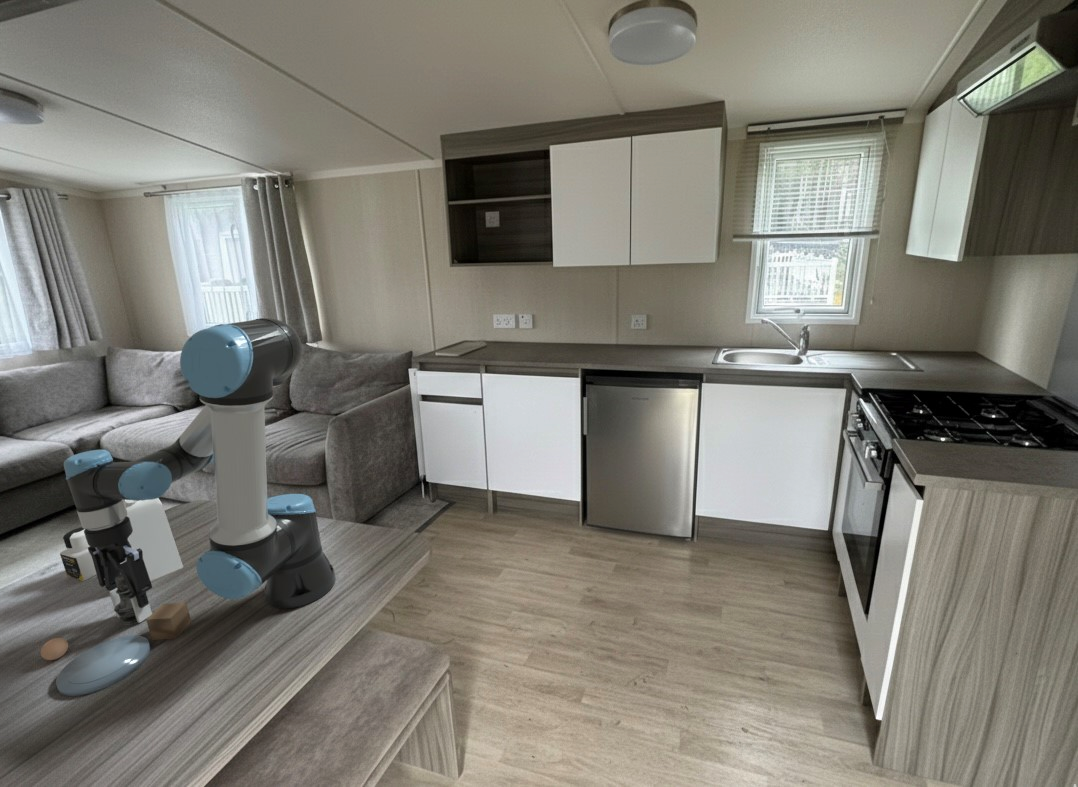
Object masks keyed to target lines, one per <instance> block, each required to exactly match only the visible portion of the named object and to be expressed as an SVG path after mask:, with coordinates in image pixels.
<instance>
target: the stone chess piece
mask: <svg viewBox="0 0 1078 787" xmlns="http://www.w3.org/2000/svg"><path fill="white" fill-rule="evenodd" d="M119 573H120V574H119V575H117V576H116V578H115V582H116V586H117V589H118V590H117V591H116V593H117V594H119V597H120V603H119V604H118V605H117V606H116V607H115V608H114V607H113V608H114V609H113V610H114V612H115V613H116V612H117V614H118V615H120V616H121V617H120V618H121V619H120V620H119V623H120V625H121V626H131V625H134V624H137V623H138V622H137V619H136V616H135V612H134V609H133V606H132V602H131V599H130V598H129V596H130V595H132V593H131V591H130V589H129V587H128V585H127V584H126V582H125V580H124V578H123V576H122V574H121V572H119Z"/></svg>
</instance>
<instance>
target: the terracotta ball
mask: <svg viewBox="0 0 1078 787" xmlns="http://www.w3.org/2000/svg"><path fill="white" fill-rule="evenodd" d="M68 648H69V643H68V641H67V640H66V639H65V638H64V637H63V638H62V637H56V638H55V637H54V638H51V639H49V640H48V641H47V642H45V643H44V644H43V645H42V647H41V649H40V656H41V657H42V658H43V659H44V660H47V661H53V660H58V659H60V658H61V657H63V656H64V655H65V654H66V652H67V651H68Z"/></svg>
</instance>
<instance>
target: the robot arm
mask: <svg viewBox="0 0 1078 787" xmlns="http://www.w3.org/2000/svg"><path fill="white" fill-rule="evenodd" d="M302 356H303V343H302V342H301V338H300V336H299V334H298V332H296V331H295V329H294V328H293V327H292V326H290V325H289V324H288V323H286V322H284V321H282V320H278V319H275V318H268V317H264V318H263V317H262V318H261V317H260V318H256V319H251V320H245V321H238V322H232V323H226V324H225V323H219V324H215V325H214V326H210V327H207V328H203V329H201V330H198V331H196V332H195V333H194V334H192V335H191V336H190V337H189V338H188V339H187V340H186V341H185V343H184V345H183V346H182V349H181V352H180V357H179V367H180V373H181V375H182V378H183V379H184V381H188V385H187V386H188V388H190V390H192V391H193V392H194V393H196V394H197V395H199V401H200V403H202V404H204V405H205V406H204V407H203V408H202V409H201V410H200V411H199V412H198V414H197V415H196V416H195V418H194V419H193V420H192V421H191V422H190V424H189V425H188V426H187V427H186V429H185V430H184V431H183V432H182V433H181V435H180V436H179V437H178V438H177V439H176V440H175V441H174V443H172V444H171V445H168V446H167V447H163V448H162V449H160V450H157V451H154V452H151V453H149V454H146V455H145V456H142V457H140V458H138V459H135V460H131V461H127V462H126V461H124V462H123V461H118V462H117V461H114V458H113V457H112V454H111V453H110V451H108V450H106V449H92V450H86V451H82V452H79V453H76V454H73V455H71V456H70V457H67V458H66V459H65V460H64V462H63V467H64V468H63V469H64V472H65V476H66V477H65V480H66V481H67V485H68V487H69V491H70V493H71V495H72V499H73V502H74V505H75V507H76V512H77V515H78V519H79V522H80V524H81V527H82V528H84V529H85V530H84V534H85V537H86V540H87V543H88V545H89V546H90V547H88V551H89V552H90V554H91V556H92V559H93V563H94V567H95V570H96V574H97V575H96V576H97V580H98V583H99V586H100V587H101V588H103V587H105V589H106V591H109V596H110V598H111V601H112V604H113V608H115V607H116V606H117V605H118V604H119V603H120V597H119V594H117V593H116V591H117V590H118V589H117V586H116V582H115V578H116V576H117V575H119V574H120V573H119V572H121V574H122V576H123V578H124V580H125V582H126V584H127V585H128V587H129V589H130V591H131V593H132V595H130V596H129V598H130V599H131V602H132V606H133V609H134V612H135V616H136V619H137V623H141V622H143V621H146V619H147V618H149V617H150V616H151V615H152V614H153V612H152V609H151V605H150V602H149V598H148V595H147V592H148V591H149V590H152V589H153V585H152V582H151V581H150V578H149V575H148V572H147V569H146V566H145V563H144V560H143V553H142V550H141V549H140V548H139V549H137V550H134V549H132V548H131V545H130V543H129V541H128V537H129V536H130V535H131V534H132V532H133V529H132V526H131V522H130V519H129V517H127V514H128V513H127V510H126V506H125V500H133V501H135V500H136V501H139V500H142V501H143V500H152V499H156V498H159V499H160V498H161V497H162V496H164V495H165V494H166V492H167V491H168V490H169V489H170V488H171V484H173V483H174V482H177V481H179V480H181V479H183V478H185V477H187V476H190V475H191V474H194V473H195V472H197V471H200V470H203V469H205V468H206V467H207V466H208V465H210V464H212V463H213V468H214V469H213V470H214V484H215V485H214V486H215V499H216V512H217V513H216V514H217V515H216V516H217V521H216V522H215V523H213V525H212V526H210V529H209V531H208V532H209V533H208V537H209V549H208V550H207V551H205V552H204V553H202V554H201V556H199V558H198V560H197V562H196V566H195V567H196V573H197V576H198V578H199V580H200V581H201V582H202V584H203V585H204V586H205V587H206V588H207V589H208V590H209V591H210V592H212V593H213V594H215V595H216V596H218V597H221V598H223V599H228V600H241V599H244V598H246V597H248V596H249V595H251V594H252V593H253V592H255V591H256V590H258V589H259V588H260V587H261V586H262V585H263V584H264V583H265V582H266V583H265V587H264V596H265V601H266V603H267V604H268V606H270V607H273V608H276V609H280V610H281V609H283V610H284V609H285V610H286V609H295V608H299V607H303V606H306V605H309V604H311V603H313V602H315V601H316V600H319V599H320V598H322V597H324V596H325V595H326V594H327V593H329V592H330V590H332V588H333V587H334V585H335V583H336V573H335V572H336V571H335V569H334V567H333V564H331V563H330V560H329V558H328V557H327V556H326V554H325V553H324V551H323V546H322V541H321V536H320V529H319V525H318V520H317V513H316V512H317V511H316V510H317V509H316V508H315V504H314V501H313V499H312V498H311V496H309V495H307V494H302V493H286V494H280V495H275V496H271V497H268V480H267V479H268V477H267V473H268V472H267V445H266V444H267V443H266V418H265V416H266V414H265V413H266V412H265V407H266V405H267V404H268V403H269V402H270V401H271V400H272V399H273V398H274V388H275V387H279V386H281V385H282V384H284V383H285V382H286V380H287V379H288V378H289V377H290V376H291V375H292V373H293V372H294V371H295V370H296V369H297V367H298V366H299V364H300V363H301V360H302ZM126 560H127V561H126ZM124 561H126V562H124ZM122 562H124V563H122ZM120 563H122V564H120ZM115 614H116V617H117V618H122V617H121V616H120V615H118V614H117V612H115Z"/></svg>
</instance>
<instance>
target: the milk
mask: <svg viewBox="0 0 1078 787" xmlns="http://www.w3.org/2000/svg"><path fill="white" fill-rule="evenodd" d="M125 506H126V510H127V513H128V514H127V517H129V519H130V522H131V526H132V529H133V532H132V534H131V535H130V536H129V537H128V541H129V543H130V545H131V548H132V549H134V550H137V549H139V548H140V549H141V550H142V553H143V560H144V563H145V566H146V569H147V572H148V575H149V578H150V581H155V580H157V579H160V578H161V577H164V576H166V575H168V574H172V573H173V572H174V573H175V572H176V571H178V570H180V569H183V568H184V564H183V562H182V559H181V555H180V553H179V550H178V547H177V543H176V542H175V538H174V535H173V533H172V529H171V526H170V523H169V520H168V517H167V514H166V512H165V508H164V506H163V503H162V501H161V500H160V497H159V498H156V499H152V500H143V501H142V500H139V501H136V500H135V501H133V500H125ZM126 561H127V560H126ZM126 561H124V562H126ZM124 562H122V563H124ZM122 563H120V564H122Z"/></svg>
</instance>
